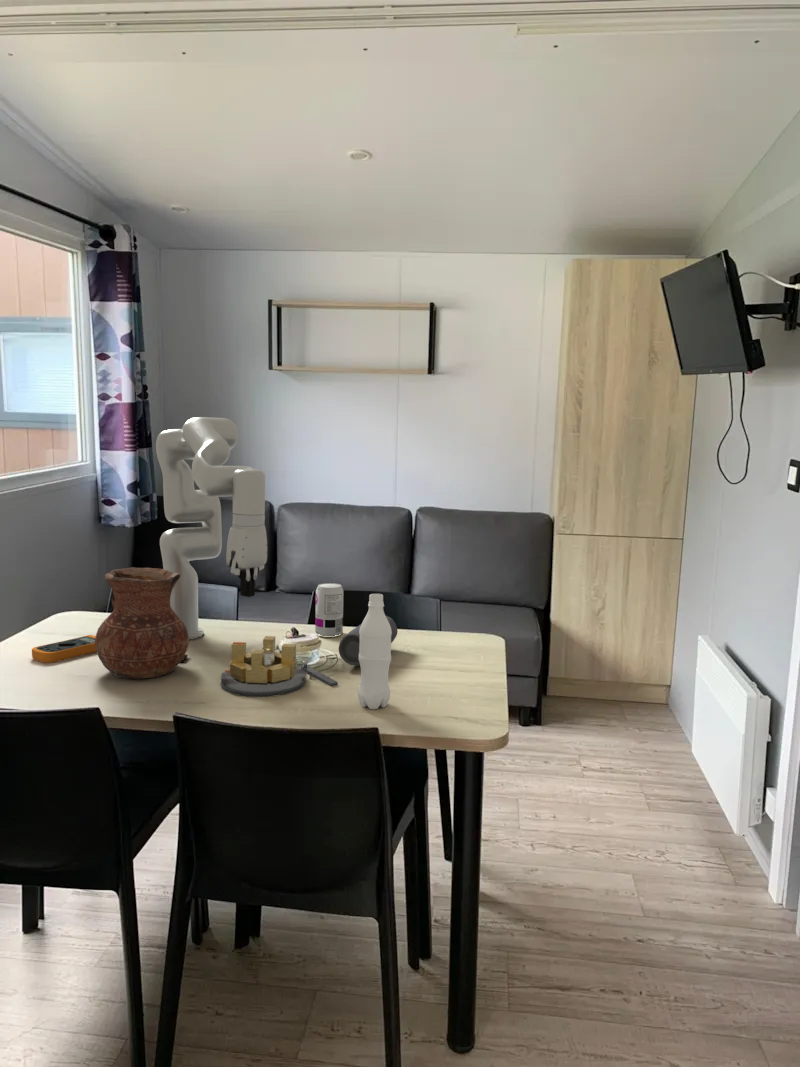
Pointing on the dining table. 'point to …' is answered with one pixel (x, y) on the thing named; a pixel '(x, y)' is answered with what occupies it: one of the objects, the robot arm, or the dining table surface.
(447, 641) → the dining table surface
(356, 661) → the bluetooth speaker
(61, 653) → the multimeter
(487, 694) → the dining table surface
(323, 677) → the pin spanner
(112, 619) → the clay pot
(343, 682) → the dining table surface
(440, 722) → the dining table surface
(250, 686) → the housing
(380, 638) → the water bottle
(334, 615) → the supplement can
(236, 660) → the ring nut
